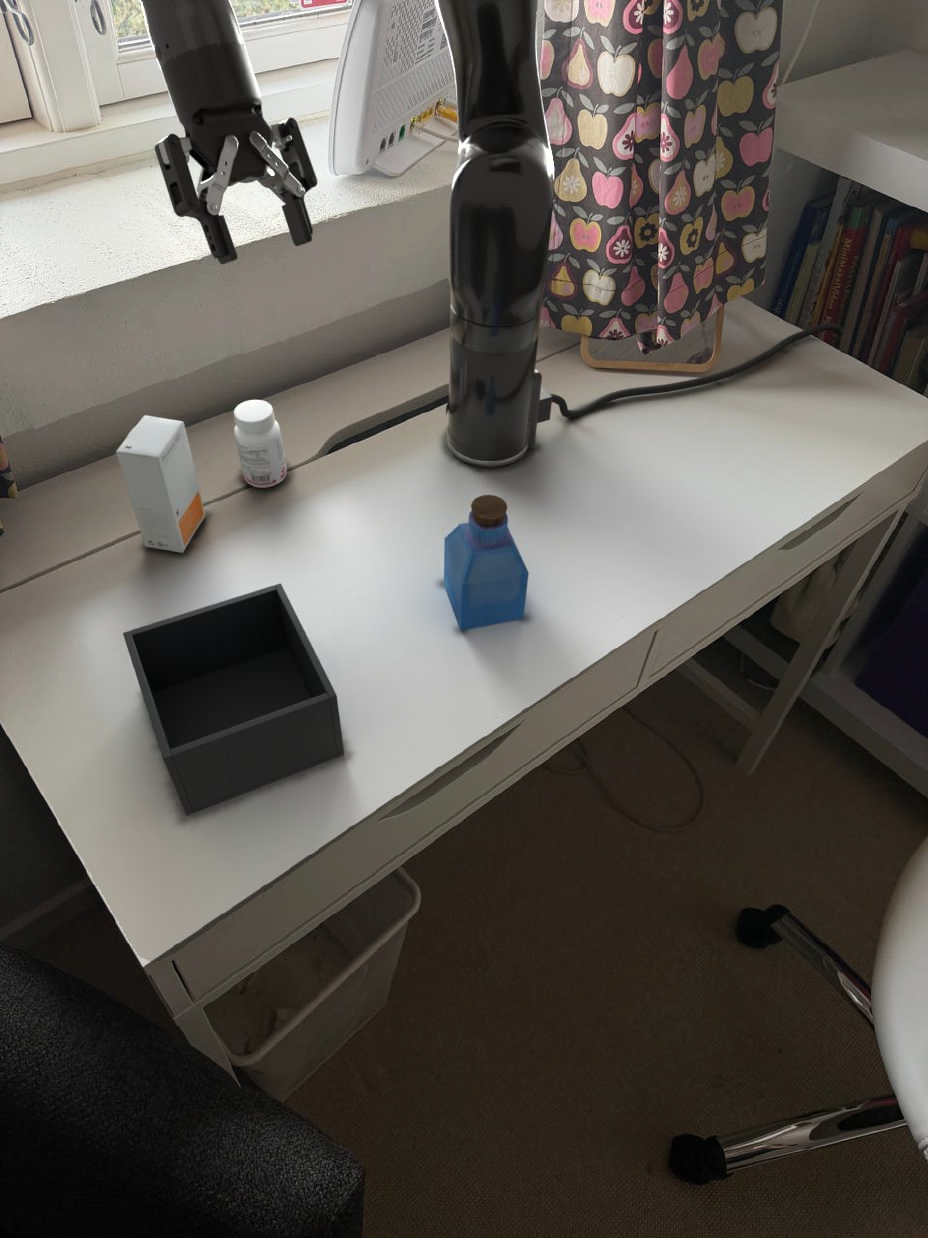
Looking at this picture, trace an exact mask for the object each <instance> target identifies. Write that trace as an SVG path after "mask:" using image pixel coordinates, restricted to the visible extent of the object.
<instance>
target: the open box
mask: <svg viewBox="0 0 928 1238" xmlns="http://www.w3.org/2000/svg"><path fill="white" fill-rule="evenodd" d="M122 636H123V638H124V641H125V644H126V647H127V648H126V649H127V651H128V655H129V657H130V660H131V663H132V667H133V670H134V673H135V676H136V679H137V683H138V685H139V688H140V691H141V695H142V698H143V701H144V704H145V707H146V711H147V713H148V717H149V720H150V723H151V726H152V729H153V732H154V736H155V738H156V741H157V745H158V749H159V751H160V755H161V758H162V759H163V763H164V765H165V767H166V771H167V772H168V774H169V778H170V780H171V782H172V785H173V787H174V790H175V792H176V794H177V797H178V799H179V801H180V804H181V806H182V807H181V808H182V809H183V811H184V814H185V816H189V815H192V814H194V813H197V812H200V811H202V810H204V809H207V808H210V807H212V806H216V805H217V804H221V803H222V802H226V801H228V800H231V799H234V798H235V797H238V796H240V795H243V794H246V793H248V792H251V791H253V790H256V789H259V788H261V787H264V786H266V785H269V784H271V783H274V782H277V781H280V780H282V779H285V778H287V777H290V776H292V775H295V774H297V773H300V772H302V771H305V770H308V769H310V768H313V767H315V766H318V765H320V764H323V763H326V762H328V761H331V760H334V759H336V758H339V757H341V756H344V755H345V748H344V740H343V733H342V724H341V718H340V710H339V703H338V695H337V693H336V691H335V689H334V687H333V684H332V683H331V681H330V679H329V676H328V675H327V673H326V671H325V669H324V667H323V665H322V662H321V660H320V658H319V657H318V655H317V652H316V651H315V649H314V647H313V645H312V643H311V641H310V638H309V637H308V635H307V632H306V631H305V629H304V627H303V625H302V622H301V621H300V619H299V617H298V615H297V612H296V611H295V609H294V606H293V605H292V603H291V601H290V599H289V597H288V594H287V593H286V591H285V589H284V586H283V585H282V583H277V584H274V585H269V586H267V587H264V588H261V589H257V590H253V591H251V592H247V593H245V594H242V595H238V596H234V597H231V598H229V599H226V600H222V601H219V602H216V603H213V604H209V605H207V606H204V607H203V606H202V607H200V608H197V609H193V610H190V611H188V612H184V613H181V614H178V615H175V616H172V617H169V618H165V619H162V620H159V621H156V622H152V623H149V624H146V625H142V626H140V627H136V628H133V629H130V630H127V631H124V632H123V633H122Z"/></svg>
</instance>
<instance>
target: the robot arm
mask: <svg viewBox="0 0 928 1238" xmlns="http://www.w3.org/2000/svg"><path fill="white" fill-rule="evenodd" d="M538 1H539V0H434V5H435V7H436V11H437V14H438V16H439V19H440V22H441V26H442V28H443V31H444V35H445V39H446V41H447V44H448V48H449V53H450V57H451V62H452V69H453V76H454V83H455V96H456V112H457V113H456V114H457V159H456V165H455V168H454V172H453V173H454V174H453V178H452V181H451V185H450V186H451V188H450V194H449V209H448V210H449V213H448V214H449V215H448V216H449V217H448V229H449V230H448V282H449V286H450V308H449V309H450V311H449V315H450V316H449V367H448V368H449V369H448V370H449V371H448V401H447V403H446V406H445V415H446V416H447V414H448V416H447V417H448V419H447V434H446V444H447V447H448V449H449V451H450V452H451V454H452V455H453V456H454V457H455V458H457V459H459V460H460V461H462V462H464V463H466V464H469V465H472V466H475V467H481V468H498V467H503V466H507V465H511V464H513V463H515V462H517V461H519V460H520V459H522V458H523V457H524V455H525V454H526V453H527V451H528V450H530V449H533V448H535V446H536V438H537V429H538V424H539V423H544V422H547V421H550V419H551V414H552V413H551V412H552V403H554V404H556V405H557V406H558V408H559V412H560V414H561V415H562V416H563V417H564V418H568V419H574V418H579V417H582V416H583V415H586V414H589V413H591V412H593V411H594V410H596V409H598V408H600V407H602V406H603V405H606V404H608V403H610V402H613V401H616V400H619V399H624V398H628V397H635V396H644V395H645V396H646V395H653V394H663V393H670V392H675V391H681V390H686V389H690V388H695V387H699V386H704V385H709V384H712V383H715V382H718V381H722V380H725V379H727V378H730V377H733V376H735V375H738V374H740V373H743V372H745V371H747V370H749V369H751V368H753V367H754V366H756V365H758V364H760V363H762V362H764V361H766V360H768V359H770V358H771V357H773V356H776V354H778V353H779V352H780V351H782V350H783V349H784V348H785V347H786V348H787V346H789V345H790V344H792V343H794V342H797V341H799V340H801V339H804V338H808V337H810V336H813V335H815V334H818V333H821V332H826V331H832V332H834V333H835V334H836V335H840V336H841V335H844V334H845V331H844V329H843V328H842V326H840V325H839V324H837V323H833V322H825V323H821V324H817V325H815V326H812V327H809V328H807V329H804V330H801V331H798V332H795V333H793V334H791V335H789V336H787V337H785V338H784V339H782V340H780V342H778V343H777V344H775V345H774V346H773V347H771V348H770V349H768V350H766V351H764V352H763V353H760V354H759V355H757V356H754V357H753V358H751V359H749V360H747V361H745V362H743V363H741V364H738V365H736V366H733V367H730V368H728V369H725V370H722V371H719V372H716V373H713V374H709V375H706V376H702V377H697V378H693V379H688V380H687V379H686V380H683V381H678V382H671V383H666V384H658V385H647V386H639V387H638V386H637V387H631V388H630V387H629V388H624V389H620V390H616V391H612V392H610V393H607V394H604V395H602V396H600V397H599V398H597V399H595V400H594V401H592V402H590V403H588V404H586V405H584V406H582V407H580V408H577V409H568V404H567V401H566V399H564V397H562V396H560V395H558V394H555V393H550V392H548V391H547V389H545V388H544V386H543V385H542V382H543V374H542V373H541V372H540V371H539V370H538V369H537V368H536V365H537V358H538V357H537V356H538V345H539V338H540V337H539V336H540V325H541V315H542V306H543V298H544V297H543V296H544V290H545V285H546V278H547V277H546V275H547V267H548V257H549V247H550V239H551V231H552V220H553V209H554V187H555V166H554V160H553V153H552V148H551V144H550V139H549V134H548V128H547V122H546V117H545V111H544V104H543V98H542V90H541V83H540V76H539V68H538V67H539V66H538V56H537V22H538V21H537V20H538V3H539V2H538ZM139 3H140V5H141V9H142V12H143V17H144V22H145V26H146V30H147V34H148V37H149V40H150V44H151V46H152V50H153V52H154V56H155V58H156V61H157V63H158V66H159V69H160V72H161V75H162V78H163V80H164V83H165V86H166V89H167V92H168V95H169V98H170V101H171V103H172V106H173V110H174V112H175V114H176V118H177V121H178V122H179V123H180V125H182V127H183V129H184V137H179V136H178V135H177V134H175V133H170V134H168V135H166V136H165V137H163V138H162V139H161V140H159V141H157V142H156V143H155V144H154V151H155V155H156V159H157V161H158V164H159V167H160V170H161V174H162V178H163V181H164V183H165V186H166V191H167V193H168V197H169V200H170V203H171V206H172V210H173V212H174V214H175V215H176V216H177V217H179V218H185V217H187V218H193V219H195V220H196V221H198V222H199V224H200V226H201V228H202V231H203V235H204V237H205V239H206V241H207V242H206V243H207V245H208V248H209V251H210V253H211V255H212V256H213V258H214V259H217V261H218V263H219V264H220V265H226V264H230V263H232V262H235V261H237V260H238V252H237V250H236V247H235V244H234V241H233V237H232V235H231V232H230V229H229V227H228V224H227V220H226V217H225V216H224V214H221V215H220V211H221V206H222V202H223V198H224V194H225V192H226V191H227V189H228V187H229V188H230V187H232V186H234V185H236V184H239V183H242V184H251V183H254V182H255V181H257V182H258V183H259V184H260V185H261V186H262V187H263V188H266V189H269V190H270V191H271V192H272V193H273V194H274V195H275V196H276V197H277V198H278V199H279V200H280V201H281V202H282V203H284V204H283V205H281V209H282V212H283V215H284V219H285V222H286V224H287V228H288V231H289V234H290V238H291V240H292V243H293V245H294V246H295V247H300V246H304V245H306V244H309V243H311V242H312V241H313V236H312V235H313V234H314V232H313V231H314V228H313V225H312V222H311V218H310V214H309V212H308V208H307V206H306V201H305V195H306V194H307V193H308V192H309V191H311V190H312V189H313V188H315V187H317V185H318V177H317V175H316V171H315V169H314V166H313V163H312V160H311V158H310V155H309V152H308V150H307V146H306V144H305V141H304V138H303V135H302V132H301V129H300V127H299V123H298V121H297V119H295V118H294V117H288V118H287V119H284V120H282V121H281V122H279V123H274V124H270V123H269V122H268V121H267V120H266V117H265V116H264V113H263V110H262V109H263V108H262V105H263V102H262V101H263V99H262V94H261V92H260V88H259V85H258V81H257V79H256V75H255V73H254V69H253V66H252V62H251V59H250V56H249V53H248V50H247V47H246V44H245V41H244V38H243V34H242V31H241V28H240V24H239V22H238V18H237V16H236V13H235V10H234V7H233V5H232V2H231V1H230V0H139ZM273 147H274V148H275V149H278V150H279V153H280V156H281V157H280V156H279V155H278V154H277V153H276V152H275V151H274V150H273ZM190 157H191V158H192V159H193V160H194V161H195V162H196V163H197V164H198V165H199V166H200V167H201V168H200V173H199V177H198V182H197V186H196V187H195V184H194V180H193V178H192V177H193V176H192V175H191V171H190V167H189V164H188V163H190ZM268 168H269V169H268Z"/></svg>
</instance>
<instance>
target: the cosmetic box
mask: <svg viewBox="0 0 928 1238" xmlns="http://www.w3.org/2000/svg"><path fill="white" fill-rule="evenodd" d="M115 454H116V457H117V460H118V463H119V467H120V471H121V473H122V477H123V480H124V483H125V487H126V488H127V493H128V496H129V499H130V503H131V506H132V508H133V512H134V515H135V518H136V521H137V525H138V528H139V531H140V534H141V538H142V541H143V545H144V546H145V547H146V548H151V549H157V550H163V551H169V552H176V553H180V554H183V553H184V552H185V551H186V548H187V546H188V545H189V543H190V541H191V540H192V538H193V537H194V535H195V533H196V532H197V531H198V529H199V527H200V526H201V524H202V523H203V521H204V519H206V513H205V508H204V505H203V499H202V493H201V490H200V486H199V485H200V484H199V481H198V477H197V473H196V469H195V464H194V460H193V456H192V451H191V447H190V444H189V440H188V434H187V429H186V426H185V422H184V421H183V420H177V419H171V418H165V417H158V416H153V415H147V414H145V415H143V416H142V418H141V419H140V420H139V421H138V423H137V424H136V425H135V426H134V427H133V428H132V429H131V430H130V432H128V434H127V436H126V437H125V439H124V440H123V442H122V443H121V444H120V445H119V447H118V448H117V449H116V451H115Z"/></svg>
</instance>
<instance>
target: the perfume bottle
mask: <svg viewBox="0 0 928 1238" xmlns="http://www.w3.org/2000/svg"><path fill="white" fill-rule="evenodd" d="M470 509H471V511H469V514H468V522H464V523H459V524H458V525H457V526H456V527H455V528H453V530H452V531H450V533H448V534H447V535H446V536H445V537H444V546H443V547H444V549H443V550H444V553H443V586H444V589H445V592H446V595H447V597H448V600H449V603H450V606H451V608H452V612H453V614H454V617H455V619H456V623H457V625H458V628H459V631H465V630H471V629H476V628H481V627H486V626H487V627H488V626H493V625H498V624H503V623H508V622H514V621H518V620H523V619H524V615H525V607H526V601H527V600H526V598H527V591H528V582H529V576H530V575H529V573H530V572H529V570H528V568H527V566H526V563H525V561H524V559H523V557H522V555H521V552H520V550H519V548H518V545H517V543H516V542H515V539H514V537H513V535H512V533H511V530H510V528H509V525H508V524H509V516H508V513H507V511H508V504H507V502H506V501H505V500H504V498H502V497H500V496H497V495H493V494H482V495H479V496H477V497H475V498H474V499H473V500H472V502H471V504H470Z"/></svg>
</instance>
